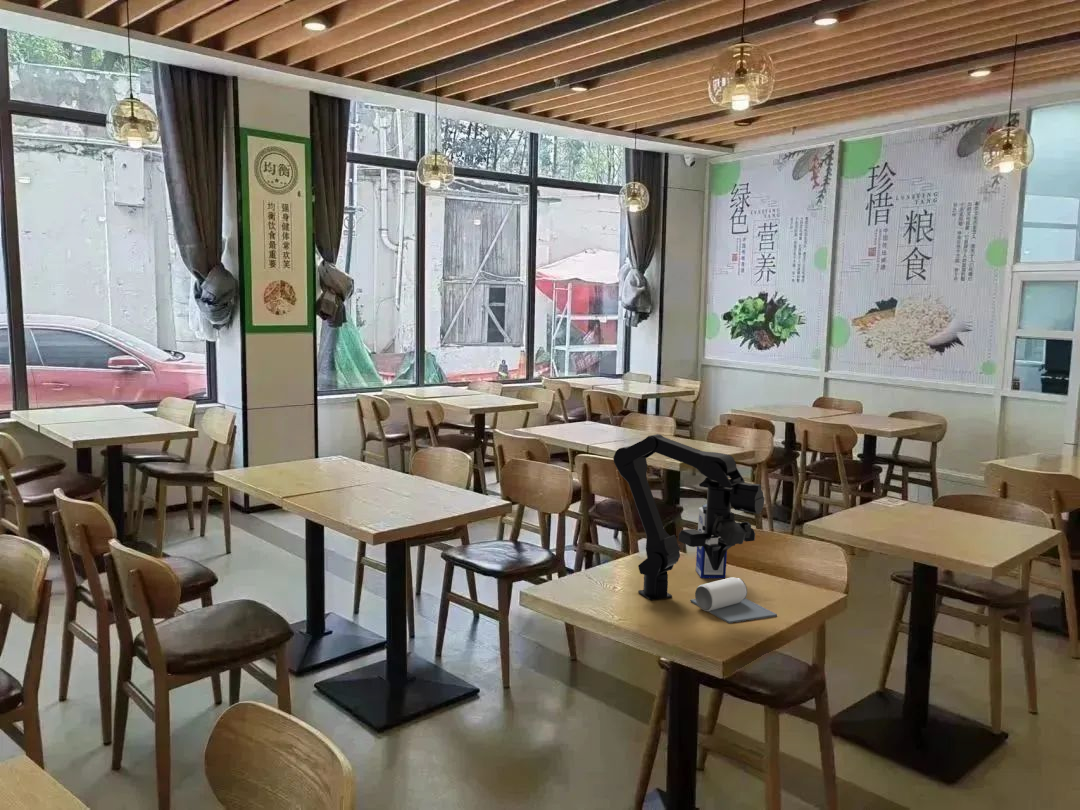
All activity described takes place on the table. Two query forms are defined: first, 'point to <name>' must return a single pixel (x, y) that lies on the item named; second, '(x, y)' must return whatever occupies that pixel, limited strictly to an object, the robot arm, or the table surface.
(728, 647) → the table surface
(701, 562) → the milk carton
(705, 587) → the can
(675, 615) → the table surface
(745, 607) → the mat
